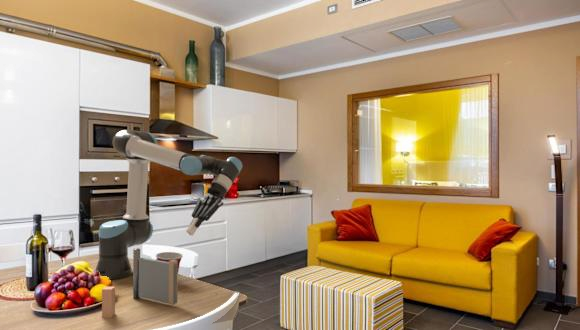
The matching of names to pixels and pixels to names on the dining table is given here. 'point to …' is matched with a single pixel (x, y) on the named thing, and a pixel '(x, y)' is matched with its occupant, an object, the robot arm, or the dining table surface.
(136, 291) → the gate post
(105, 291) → the post
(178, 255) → the plastic cup
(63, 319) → the dining table surface
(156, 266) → the panel
